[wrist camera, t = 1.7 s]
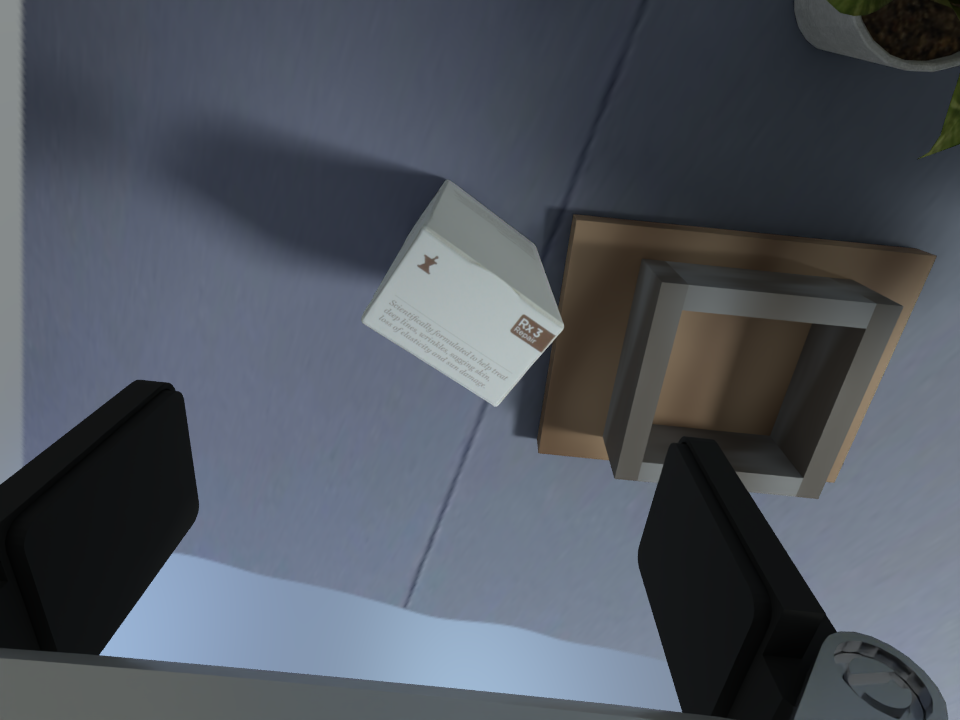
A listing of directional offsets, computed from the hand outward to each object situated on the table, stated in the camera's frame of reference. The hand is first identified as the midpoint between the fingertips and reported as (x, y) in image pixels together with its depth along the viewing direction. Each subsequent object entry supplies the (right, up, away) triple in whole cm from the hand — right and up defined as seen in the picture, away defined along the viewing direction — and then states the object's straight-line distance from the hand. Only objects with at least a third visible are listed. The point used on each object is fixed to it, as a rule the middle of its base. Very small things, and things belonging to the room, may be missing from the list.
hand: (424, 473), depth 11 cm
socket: (+14, +3, +21) cm, 26 cm away
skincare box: (+1, +9, +19) cm, 21 cm away
